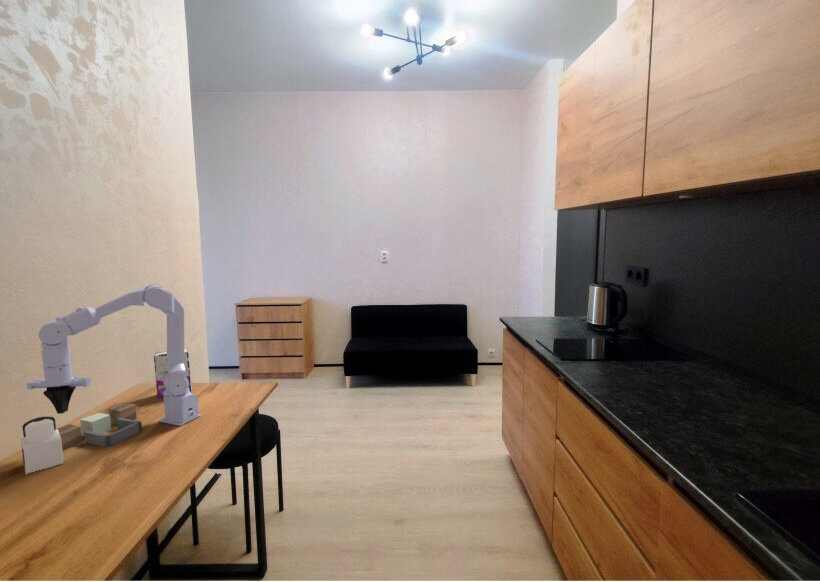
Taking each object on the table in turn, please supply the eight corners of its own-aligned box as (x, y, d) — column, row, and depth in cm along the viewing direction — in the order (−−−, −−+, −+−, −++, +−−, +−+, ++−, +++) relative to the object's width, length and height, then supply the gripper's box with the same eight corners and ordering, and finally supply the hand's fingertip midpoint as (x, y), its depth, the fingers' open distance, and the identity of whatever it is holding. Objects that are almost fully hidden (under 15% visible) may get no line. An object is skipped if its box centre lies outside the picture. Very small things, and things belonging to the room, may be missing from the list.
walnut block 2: (136, 419, 126) (135, 404, 125) (121, 426, 121) (119, 410, 121) (125, 417, 127) (124, 402, 127) (110, 423, 123) (108, 408, 122)
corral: (142, 431, 118) (141, 421, 117) (107, 447, 108) (106, 437, 108) (120, 426, 121) (119, 417, 120) (85, 442, 111) (84, 432, 111)
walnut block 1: (82, 443, 111) (80, 426, 110) (62, 451, 106) (60, 434, 106) (70, 440, 112) (68, 424, 112) (49, 448, 108) (48, 431, 107)
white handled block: (23, 464, 100) (18, 420, 99) (60, 453, 105) (55, 411, 104) (25, 475, 95) (19, 429, 94) (64, 463, 100) (59, 419, 99)
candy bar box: (192, 388, 152) (189, 348, 150) (191, 393, 148) (188, 351, 146) (158, 393, 147) (155, 351, 145) (156, 398, 143) (153, 355, 141)
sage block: (111, 430, 118) (109, 414, 118) (93, 438, 114) (92, 422, 113) (99, 428, 120) (98, 412, 119) (81, 435, 115) (80, 419, 115)
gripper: (96, 359, 111) (100, 404, 113) (39, 361, 109) (44, 407, 111) (79, 367, 105) (84, 415, 106) (18, 369, 102) (24, 418, 104)
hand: (62, 412), depth 108 cm, fingers closed
